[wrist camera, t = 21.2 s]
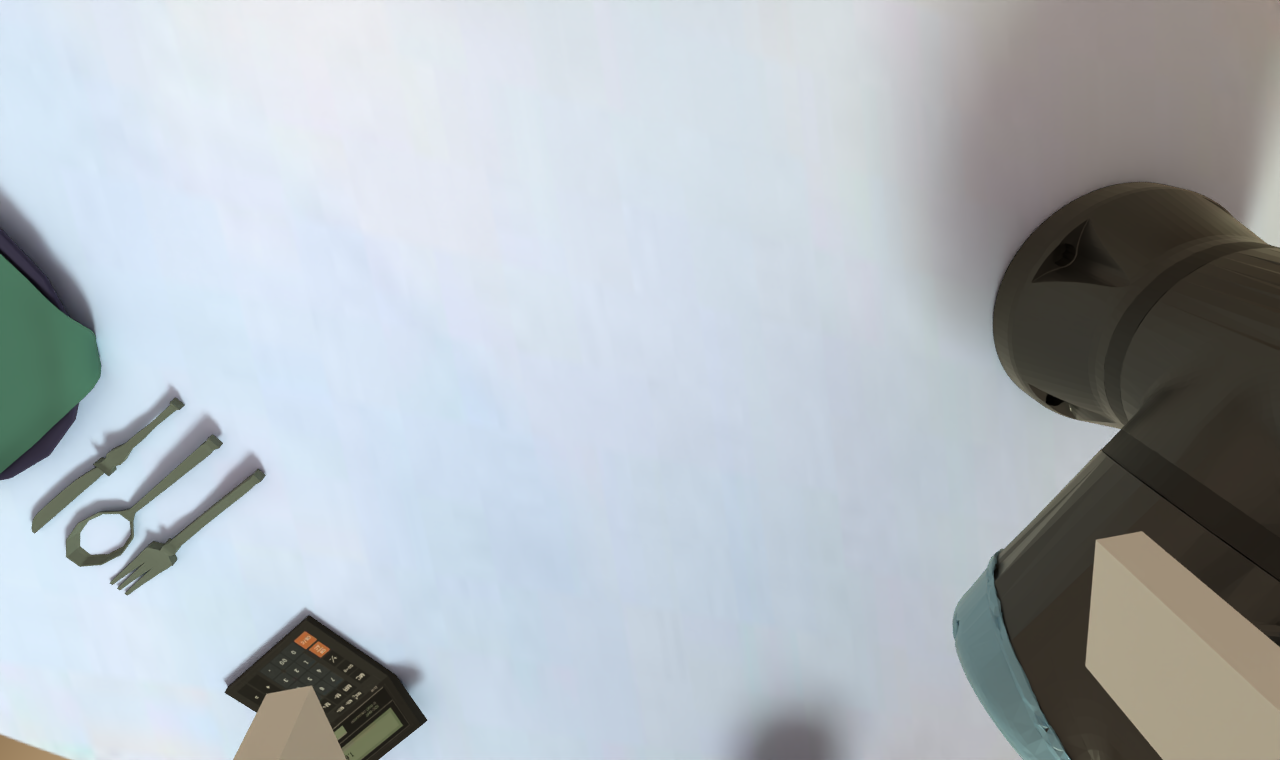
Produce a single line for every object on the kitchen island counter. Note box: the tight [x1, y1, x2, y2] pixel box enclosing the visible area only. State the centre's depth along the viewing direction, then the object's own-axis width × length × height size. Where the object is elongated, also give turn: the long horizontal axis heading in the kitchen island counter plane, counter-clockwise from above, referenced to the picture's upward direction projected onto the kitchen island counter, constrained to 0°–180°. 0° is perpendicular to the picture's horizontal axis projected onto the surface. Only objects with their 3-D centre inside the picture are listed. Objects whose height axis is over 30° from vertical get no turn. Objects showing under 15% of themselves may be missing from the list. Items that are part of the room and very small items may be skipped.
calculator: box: [225, 616, 427, 760], centre depth 56 cm, size 9×12×3 cm
